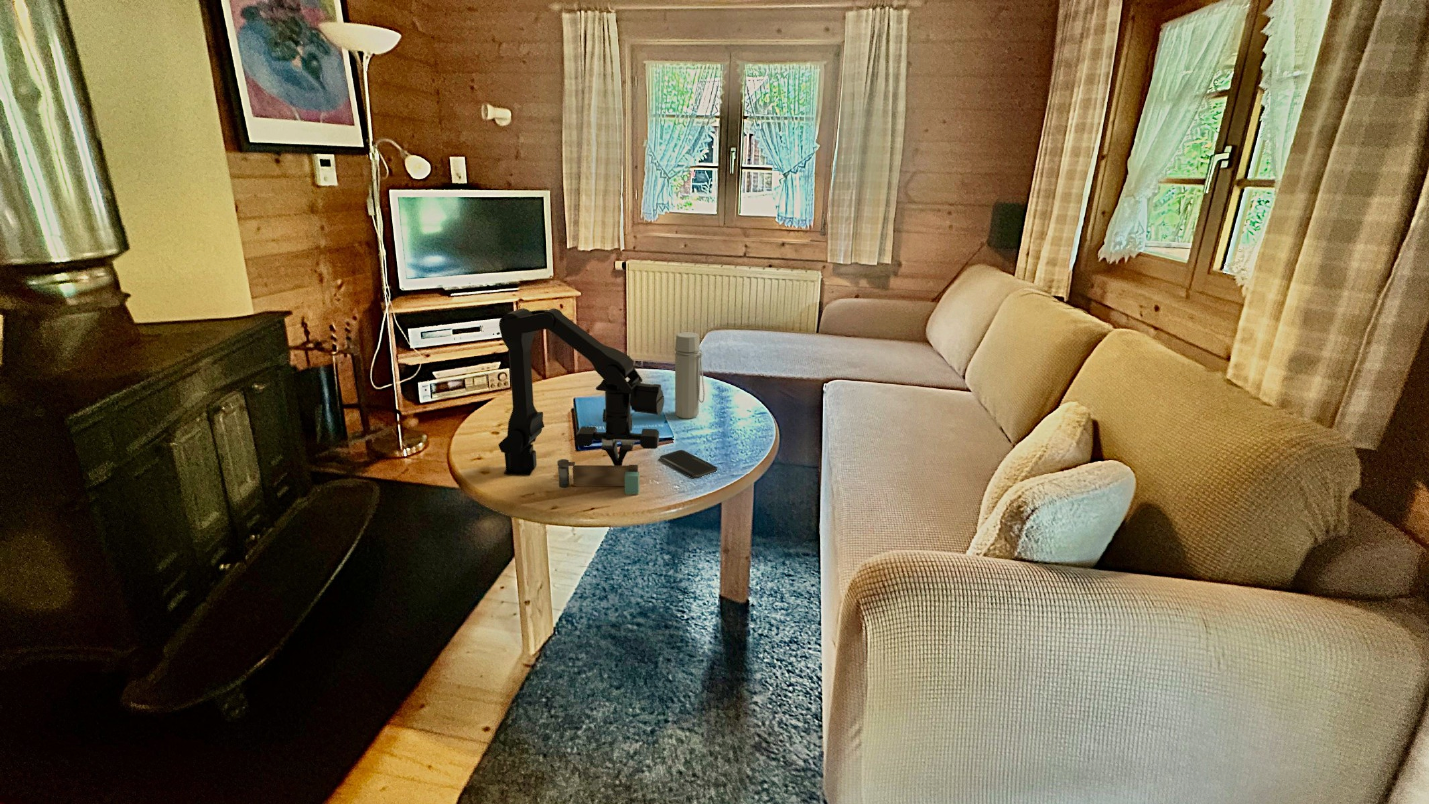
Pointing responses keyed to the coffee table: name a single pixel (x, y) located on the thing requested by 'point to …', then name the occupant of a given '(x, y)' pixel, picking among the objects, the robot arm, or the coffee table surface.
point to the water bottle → (687, 375)
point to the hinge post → (564, 477)
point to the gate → (598, 474)
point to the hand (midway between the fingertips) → (618, 470)
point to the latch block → (631, 482)
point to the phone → (688, 464)
